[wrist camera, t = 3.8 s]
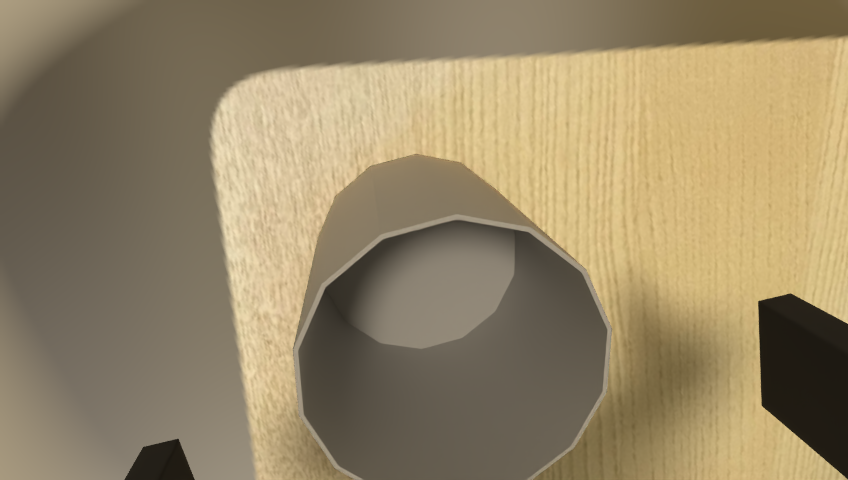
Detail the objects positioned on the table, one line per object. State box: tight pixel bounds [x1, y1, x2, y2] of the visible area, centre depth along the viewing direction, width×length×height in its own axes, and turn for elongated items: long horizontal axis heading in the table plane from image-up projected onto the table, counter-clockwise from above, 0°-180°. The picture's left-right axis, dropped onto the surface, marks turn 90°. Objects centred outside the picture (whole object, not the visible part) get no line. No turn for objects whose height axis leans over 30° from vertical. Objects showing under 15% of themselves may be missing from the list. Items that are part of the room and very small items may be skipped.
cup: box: [293, 154, 612, 480], centre depth 20 cm, size 8×8×10 cm
